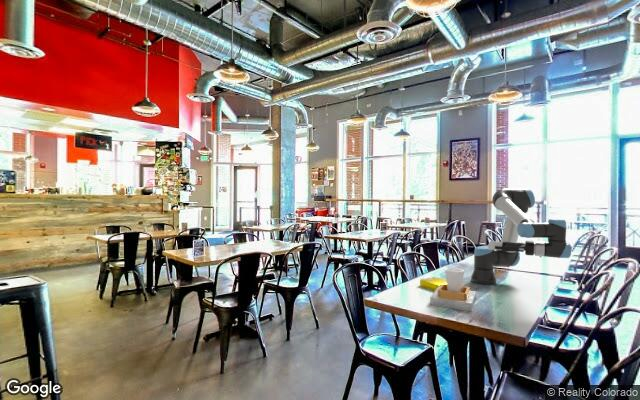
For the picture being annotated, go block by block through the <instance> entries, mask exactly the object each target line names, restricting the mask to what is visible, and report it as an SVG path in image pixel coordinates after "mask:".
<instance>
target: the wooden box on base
mask: <svg viewBox="0 0 640 400" xmlns="http://www.w3.org/2000/svg"><path fill="white" fill-rule="evenodd" d="M476 300H477V291H475V290H471V287H469V286H464V285H462V288H461V293H460V292H453V291H448V289H447V284H442V285H441V286H439V287H438V288H437V289H436V291H433V293H432V294H431V295H430V299H429V305H430V306H435V307H442V308H448V309H455V310H461V311H467V312H472V311H473V308H474V305H475V303H476Z"/></svg>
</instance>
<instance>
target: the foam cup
mask: <svg viewBox="0 0 640 400" xmlns="http://www.w3.org/2000/svg"><path fill="white" fill-rule="evenodd" d="M444 271H445V280H447V289H448V291H453V292H460V293H461V288H462V286H463V282H464V281H463V280H464V276H465V270H464V269H463V268H458V267H456V268H455V267H446V268H444Z"/></svg>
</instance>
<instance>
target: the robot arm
mask: <svg viewBox="0 0 640 400" xmlns="http://www.w3.org/2000/svg"><path fill="white" fill-rule="evenodd" d="M535 203H536V197H535V195H534V192H533V191H532V190H531V189H529V188H524V187H518V188H508V187H507V188H504V187H503V188H501V189H498V190H497V191H496V192H495V193H494V194H493V195H492V204H493V206H494V207H495V208H496V210H498V211H501V213H503V214H504V215H505V216H506V220H505V224H504V228H503V233H502V236H501V237H502V238H501V241H497V240H496V241H495V240H492V241H491V240H489V243H488V244H487V245H481V246H480V245H479V246H476V247H475V248H474V252H473V253H474V254H473V255H474V256H473V265H474V266H473V271H472V275H471V277H470V281H471V282H473V283H475V284H479V285H490V286H491V285H495V284H497V278H496V274H495V271H494V268H495V267H508V268H509V267H516V266H517V265H518V264H519V262H520V258H521V256H520V255H521V254H520V252H522V253H524V252H525V253H524V255H526V256H532V257H533V256H536V257H539V258H542V257H544V258H547V257H548V258H558V259H569V258H571V256H572V245H571V243H568V242H567V241H566V239H567V229H568V228H567V221H566V220H565V219H561V218H560V219H559V218H548V220H547V222H535V221H534V220H533V219H532V218H530V216H528V215H527V213H528V211H529V209H531V208H533V207H534V206H535ZM519 237H520V238H527V239H531V238H537V239H539V238H543V239H545V238H547V241H538V240H537V241H536V240H535V241H533V240H525V243H524V244H523V243H520V242H518V240H519V239H518V238H519Z"/></svg>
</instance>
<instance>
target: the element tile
mask: <svg viewBox="0 0 640 400" xmlns="http://www.w3.org/2000/svg"><path fill="white" fill-rule="evenodd" d="M442 284H447V280H446V279H445V278H444V279H443V278H440V277H437V276H436V277H435V276H433V277H428V278H421V279H420V280H419V286H420V287H421V288H424V289H427V290H431V291H433V292H435V291H436V289H437V288H438V287H439V286H441V285H442Z"/></svg>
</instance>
